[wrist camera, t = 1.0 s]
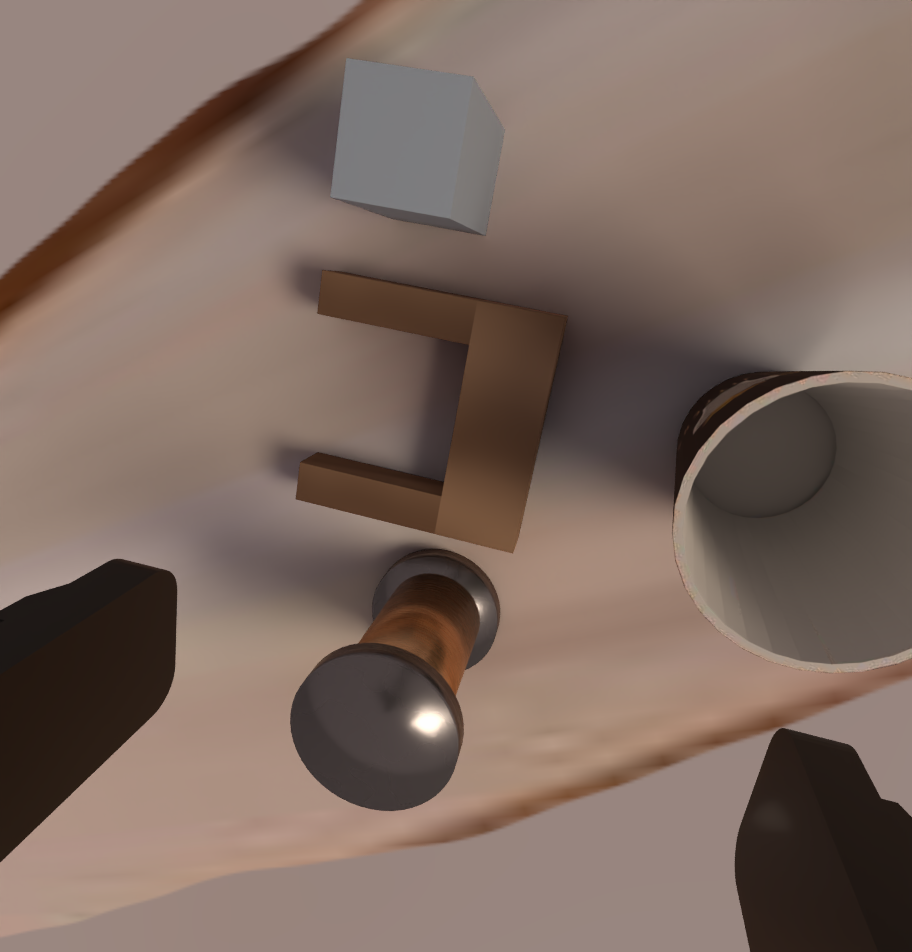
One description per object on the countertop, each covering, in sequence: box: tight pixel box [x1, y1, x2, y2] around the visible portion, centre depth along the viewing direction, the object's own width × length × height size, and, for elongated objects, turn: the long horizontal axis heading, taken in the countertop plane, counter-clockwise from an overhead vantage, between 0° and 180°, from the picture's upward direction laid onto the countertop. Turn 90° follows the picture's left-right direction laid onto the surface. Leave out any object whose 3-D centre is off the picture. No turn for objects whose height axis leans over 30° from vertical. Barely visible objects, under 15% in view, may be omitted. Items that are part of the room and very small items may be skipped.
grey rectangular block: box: [330, 58, 505, 236], centre depth 24 cm, size 4×4×7 cm
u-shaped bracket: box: [296, 270, 568, 553], centre depth 29 cm, size 10×10×2 cm
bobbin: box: [290, 549, 500, 811], centre depth 28 cm, size 6×6×10 cm
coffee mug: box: [672, 371, 912, 673], centre depth 23 cm, size 12×9×10 cm
